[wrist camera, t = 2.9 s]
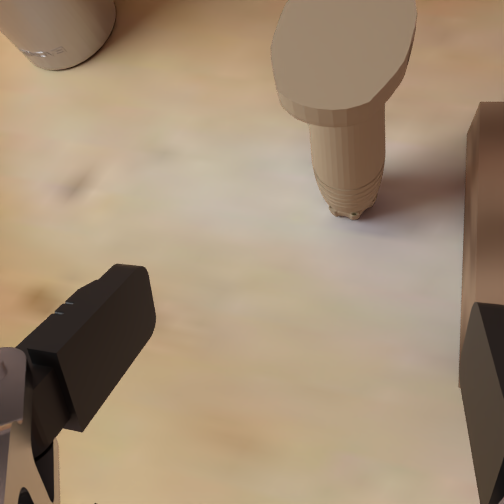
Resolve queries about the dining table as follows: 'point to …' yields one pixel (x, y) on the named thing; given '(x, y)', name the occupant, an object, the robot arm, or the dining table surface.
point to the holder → (483, 212)
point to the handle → (343, 87)
